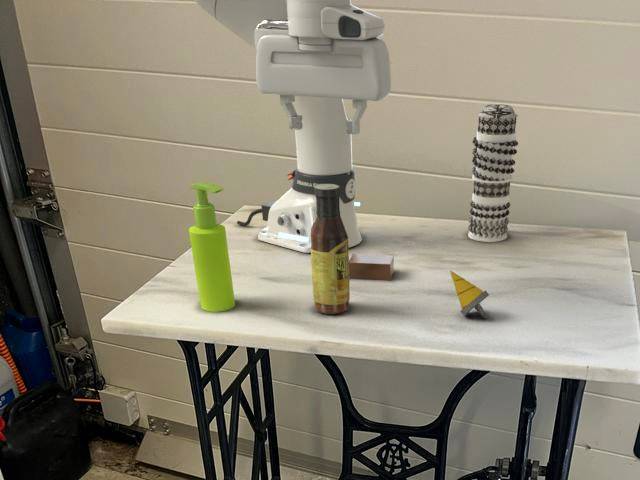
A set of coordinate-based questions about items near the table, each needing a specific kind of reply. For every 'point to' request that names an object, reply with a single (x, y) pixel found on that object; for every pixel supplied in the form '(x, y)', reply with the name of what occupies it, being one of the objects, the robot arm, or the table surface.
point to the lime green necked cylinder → (210, 253)
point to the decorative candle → (492, 173)
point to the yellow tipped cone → (469, 295)
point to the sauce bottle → (329, 253)
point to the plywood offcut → (371, 266)
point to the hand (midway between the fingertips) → (324, 131)
